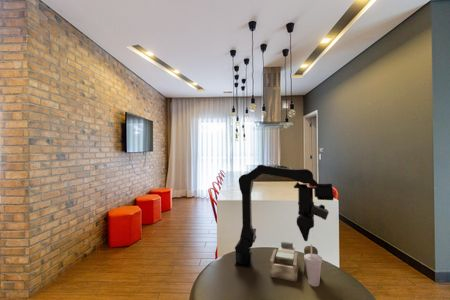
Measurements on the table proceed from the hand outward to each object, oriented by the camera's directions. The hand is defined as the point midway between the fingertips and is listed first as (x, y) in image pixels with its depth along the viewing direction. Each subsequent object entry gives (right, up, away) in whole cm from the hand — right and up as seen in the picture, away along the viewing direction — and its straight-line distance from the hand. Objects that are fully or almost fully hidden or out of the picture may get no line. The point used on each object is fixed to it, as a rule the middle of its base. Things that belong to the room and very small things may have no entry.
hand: (306, 237), depth 89 cm
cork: (+1, -14, -3) cm, 14 cm away
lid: (-7, -9, +5) cm, 13 cm away
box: (-9, -14, -1) cm, 17 cm away
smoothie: (-1, -14, -9) cm, 17 cm away
